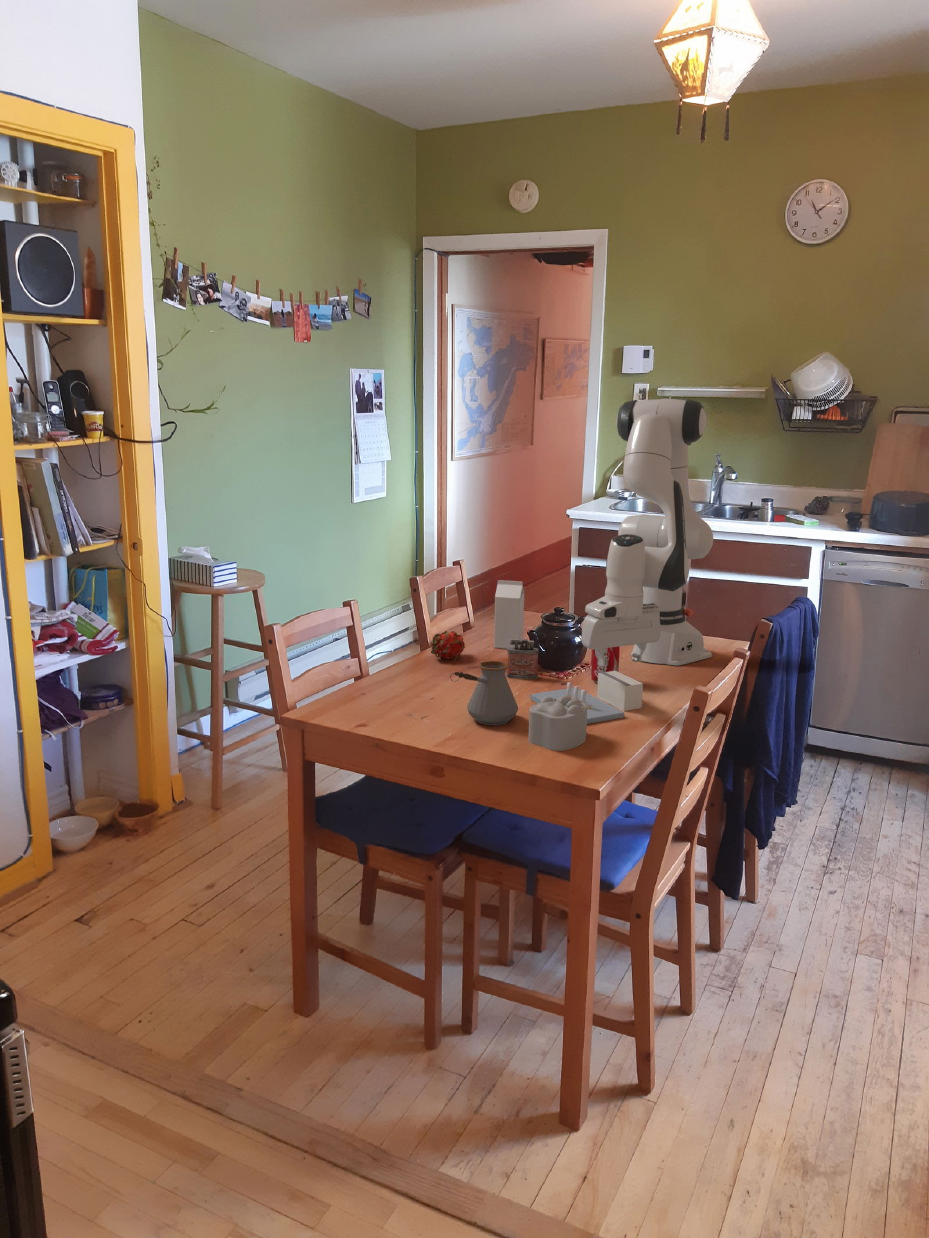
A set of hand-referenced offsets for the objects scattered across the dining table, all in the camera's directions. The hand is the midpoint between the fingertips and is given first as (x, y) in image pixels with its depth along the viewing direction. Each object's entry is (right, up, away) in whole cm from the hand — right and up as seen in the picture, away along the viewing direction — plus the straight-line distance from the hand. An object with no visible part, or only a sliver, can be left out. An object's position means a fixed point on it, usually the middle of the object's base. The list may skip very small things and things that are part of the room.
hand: (620, 663), depth 224 cm
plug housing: (0, -9, +3) cm, 10 cm away
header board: (-11, -10, -1) cm, 15 cm away
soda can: (-1, -6, +18) cm, 19 cm away
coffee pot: (-33, -13, -13) cm, 38 cm away
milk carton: (-24, +3, +50) cm, 55 cm away
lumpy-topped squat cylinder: (-16, -15, -20) cm, 30 cm away
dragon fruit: (-41, -1, +37) cm, 55 cm away
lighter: (-22, -5, +22) cm, 31 cm away
